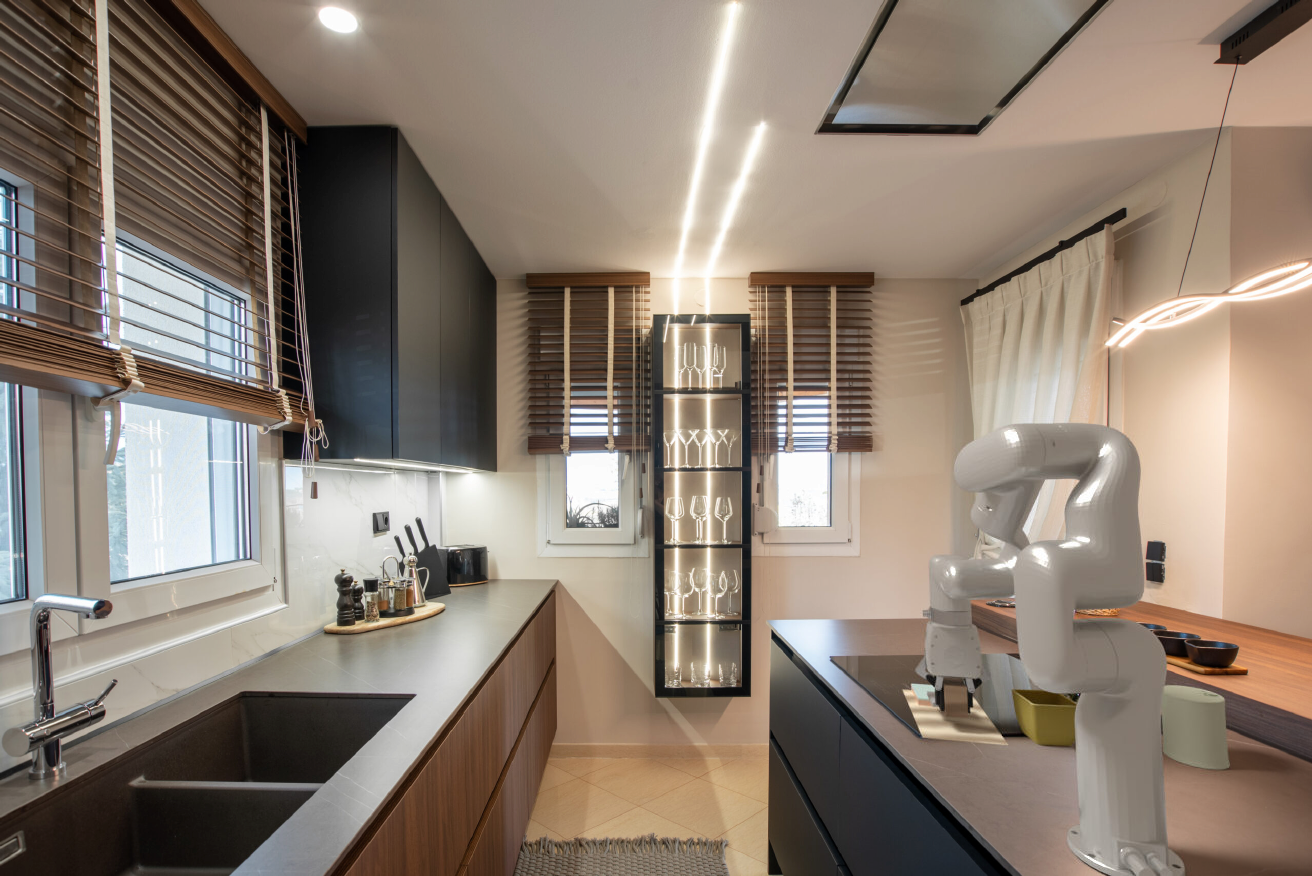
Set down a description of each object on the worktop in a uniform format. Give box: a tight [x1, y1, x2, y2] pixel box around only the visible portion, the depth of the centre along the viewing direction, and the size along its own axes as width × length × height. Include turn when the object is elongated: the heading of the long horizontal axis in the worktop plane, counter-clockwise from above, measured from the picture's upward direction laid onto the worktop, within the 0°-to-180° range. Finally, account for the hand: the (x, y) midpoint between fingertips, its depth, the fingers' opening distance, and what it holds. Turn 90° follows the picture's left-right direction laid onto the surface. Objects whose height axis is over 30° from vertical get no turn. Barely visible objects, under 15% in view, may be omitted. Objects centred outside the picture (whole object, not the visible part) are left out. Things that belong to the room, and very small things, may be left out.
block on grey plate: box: [927, 677, 968, 718], centre depth 127 cm, size 12×7×6 cm, turn 166°
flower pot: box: [1011, 688, 1078, 747], centre depth 118 cm, size 9×9×9 cm
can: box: [1161, 684, 1231, 771], centre depth 112 cm, size 9×9×12 cm
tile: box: [910, 683, 935, 706], centre depth 139 cm, size 2×8×10 cm
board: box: [901, 688, 1009, 746], centre depth 130 cm, size 28×15×1 cm, turn 166°
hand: (954, 708), depth 123 cm, fingers closed on block on grey plate, 4 cm apart
